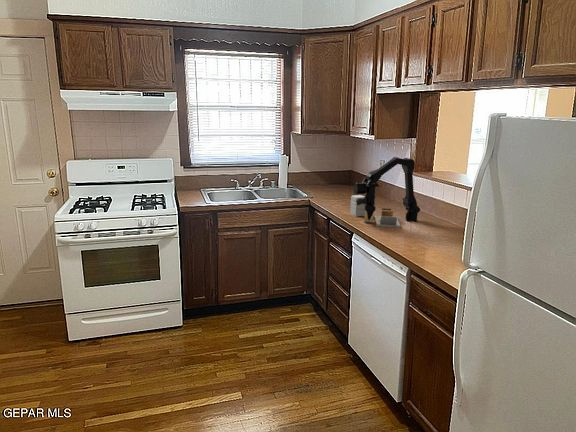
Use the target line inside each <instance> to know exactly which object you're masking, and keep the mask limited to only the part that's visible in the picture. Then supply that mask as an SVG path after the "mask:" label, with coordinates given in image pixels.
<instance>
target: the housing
mask: <svg viewBox="0 0 576 432" xmlns="http://www.w3.org/2000/svg"><path fill="white" fill-rule="evenodd" d="M363 218H364V219H363V221H364V223H374V213H373V214H372V216H371V218H370V220H368V216H367V211H366V210H365V216H363Z"/></svg>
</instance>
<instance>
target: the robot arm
mask: <svg viewBox="0 0 576 432" xmlns="http://www.w3.org/2000/svg"><path fill="white" fill-rule="evenodd" d="M415 162H416V161H415V160H414V159H412V158H408V157H405V158H400V157H397V156H393V157H392V158H391V159H390V160H389V161H387V162H385V163H384V164H383V165H381V166H380V167H378V168H377V169H375V170H372V171H370V172H368V173H367V174H365V177H364V179H363V180H362V181H361V182H355V184H354V186H353V193H354V195H364V196H365V197H362V198H359V199H356V203H357V205H360V204H364V207H365V211H367V216H368V220H370V218H371V216H372V214H373V215H374V212H375V211H376V209H377V208H376V203H375V202H376V190H377V188H379V187H380V184H378V181H380V180H381V178H382V176H383V175H384V174H386V173H387V172H389V171H390V170H392V169H393V168H394V167H396V166H398V165H401V169H402V170H403V172H404V187H405V196H404V197H403V198H402V204H403V207H404V208H405V210H406V212H405V217H404V219H405V220H406V222H415V223H417V222H418V214H419V213H420V211H421V208H420V207H419V205H418V202H417V199H416V197H415V195H414V191H415V189H414V177H413V176H414V171H415V167H416V163H415ZM365 204H366V205H365Z"/></svg>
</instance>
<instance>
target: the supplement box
mask: <svg viewBox="0 0 576 432" xmlns="http://www.w3.org/2000/svg"><path fill="white" fill-rule="evenodd" d="M362 197H365V195H363V194H354V195H352V194H351V197H350V208H349V210H350V212H349V215H352V216H354V217H364V216H365V211H366V210H365V207H364V204H360V205H357V203H356V199H359V198H362ZM365 205H366V204H365Z"/></svg>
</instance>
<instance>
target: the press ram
mask: <svg viewBox="0 0 576 432" xmlns="http://www.w3.org/2000/svg"><path fill="white" fill-rule="evenodd" d="M380 212H381V213H380V216H389V217H394V216H393V215H394V210H392V207H391V208H389V207H388V208H387V207H381V211H380Z"/></svg>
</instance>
